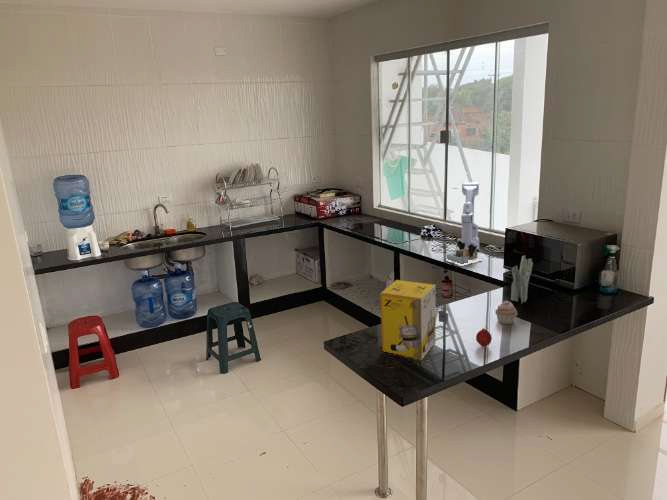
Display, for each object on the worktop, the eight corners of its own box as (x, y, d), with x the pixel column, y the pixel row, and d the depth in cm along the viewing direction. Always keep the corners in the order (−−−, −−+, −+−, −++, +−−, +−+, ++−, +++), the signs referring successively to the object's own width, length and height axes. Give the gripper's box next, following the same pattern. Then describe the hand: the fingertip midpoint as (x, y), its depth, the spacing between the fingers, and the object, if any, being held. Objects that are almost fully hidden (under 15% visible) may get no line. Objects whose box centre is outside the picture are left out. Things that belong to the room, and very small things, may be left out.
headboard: (465, 256, 309) (465, 249, 308) (481, 261, 297) (482, 254, 296) (445, 261, 302) (445, 254, 301) (461, 266, 290) (461, 259, 289)
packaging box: (422, 360, 188) (421, 299, 181) (382, 352, 196) (380, 293, 189) (435, 342, 202) (435, 284, 195) (398, 335, 209) (396, 279, 202)
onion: (479, 341, 200) (480, 323, 197) (493, 345, 196) (494, 326, 194) (473, 347, 195) (473, 329, 193) (487, 351, 192) (488, 332, 190)
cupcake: (507, 328, 210) (508, 306, 207) (490, 321, 218) (490, 299, 215) (522, 322, 214) (523, 301, 211) (504, 315, 222) (505, 294, 219)
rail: (472, 256, 305) (472, 246, 304) (476, 257, 302) (477, 248, 300) (455, 260, 299) (456, 250, 298) (460, 261, 296) (460, 252, 294)
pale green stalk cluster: (520, 311, 226) (522, 269, 220) (504, 308, 229) (506, 267, 224) (533, 291, 248) (535, 252, 242) (518, 289, 251) (520, 251, 246)
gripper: (453, 232, 301) (453, 253, 304) (470, 236, 288) (470, 259, 292) (462, 230, 304) (462, 251, 307) (479, 234, 291) (479, 256, 295)
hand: (466, 255), depth 300 cm, fingers open, 7 cm apart
